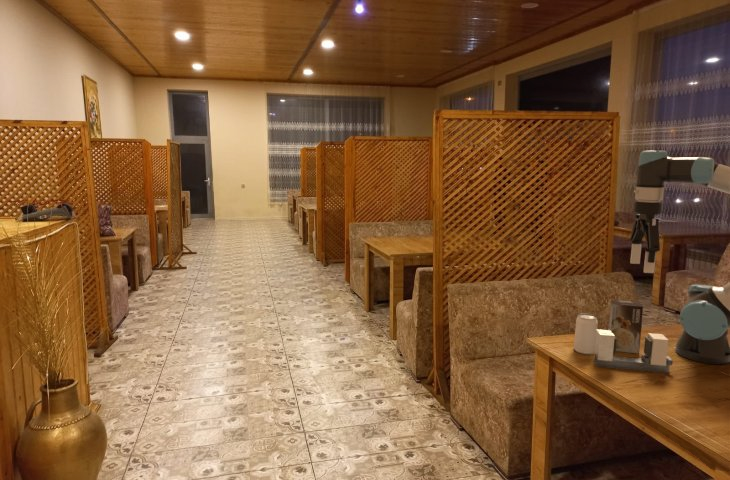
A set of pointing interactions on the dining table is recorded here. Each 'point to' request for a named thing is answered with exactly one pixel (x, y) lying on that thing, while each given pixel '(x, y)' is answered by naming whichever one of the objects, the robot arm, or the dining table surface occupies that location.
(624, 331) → the coffee box
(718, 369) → the dining table surface
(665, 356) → the white block
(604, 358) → the rail
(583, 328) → the can
